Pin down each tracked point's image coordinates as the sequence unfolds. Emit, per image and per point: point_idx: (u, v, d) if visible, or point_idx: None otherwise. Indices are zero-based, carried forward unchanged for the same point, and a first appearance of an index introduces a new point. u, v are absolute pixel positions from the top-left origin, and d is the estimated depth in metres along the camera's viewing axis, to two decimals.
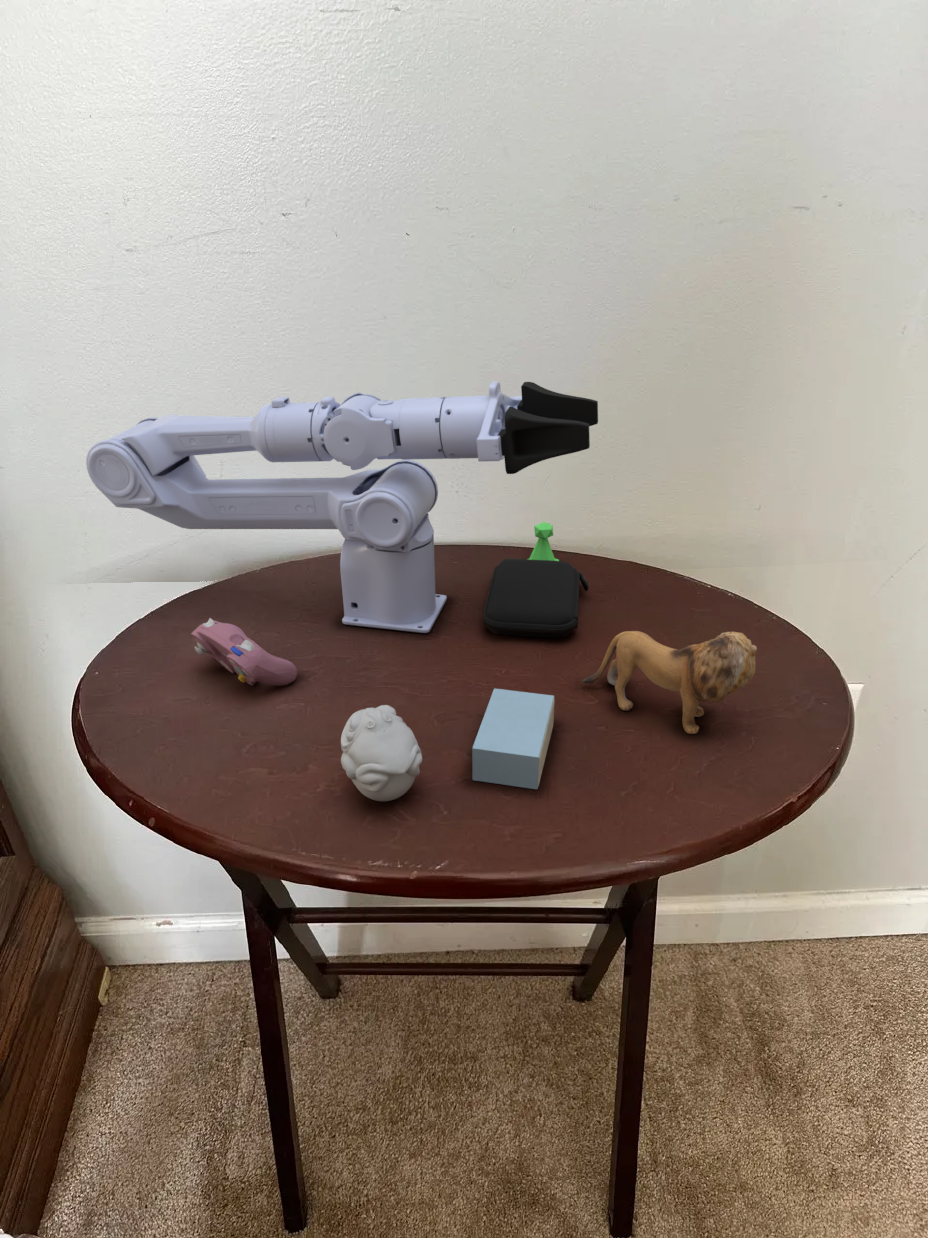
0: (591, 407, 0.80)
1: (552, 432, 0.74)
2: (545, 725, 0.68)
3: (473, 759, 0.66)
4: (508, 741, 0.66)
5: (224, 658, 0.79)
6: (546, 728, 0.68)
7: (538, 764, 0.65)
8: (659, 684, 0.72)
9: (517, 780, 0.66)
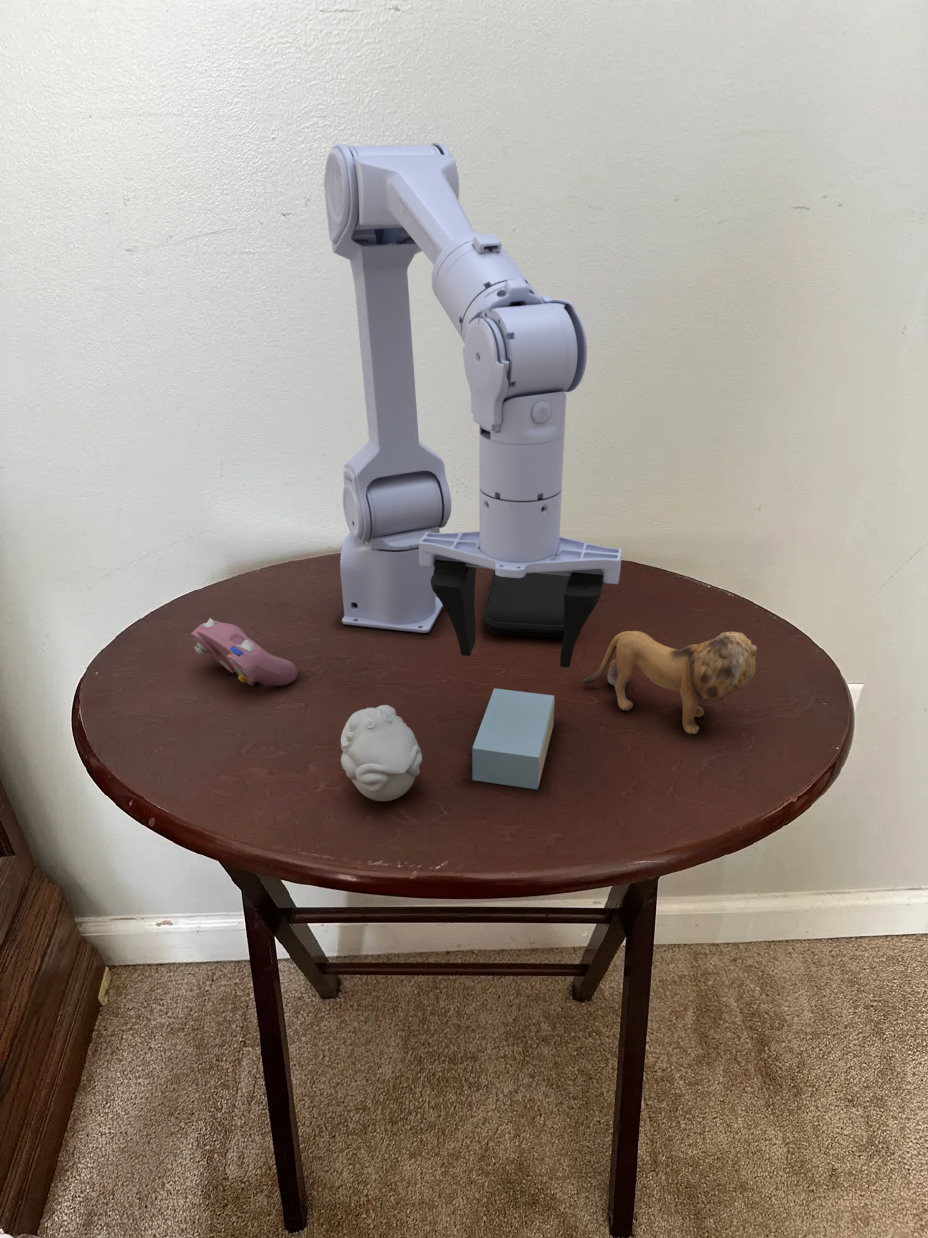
0: None
1: None
2: (545, 725, 0.68)
3: (473, 759, 0.66)
4: (508, 741, 0.66)
5: (224, 658, 0.79)
6: (546, 728, 0.68)
7: (538, 764, 0.65)
8: (659, 684, 0.72)
9: (517, 780, 0.66)
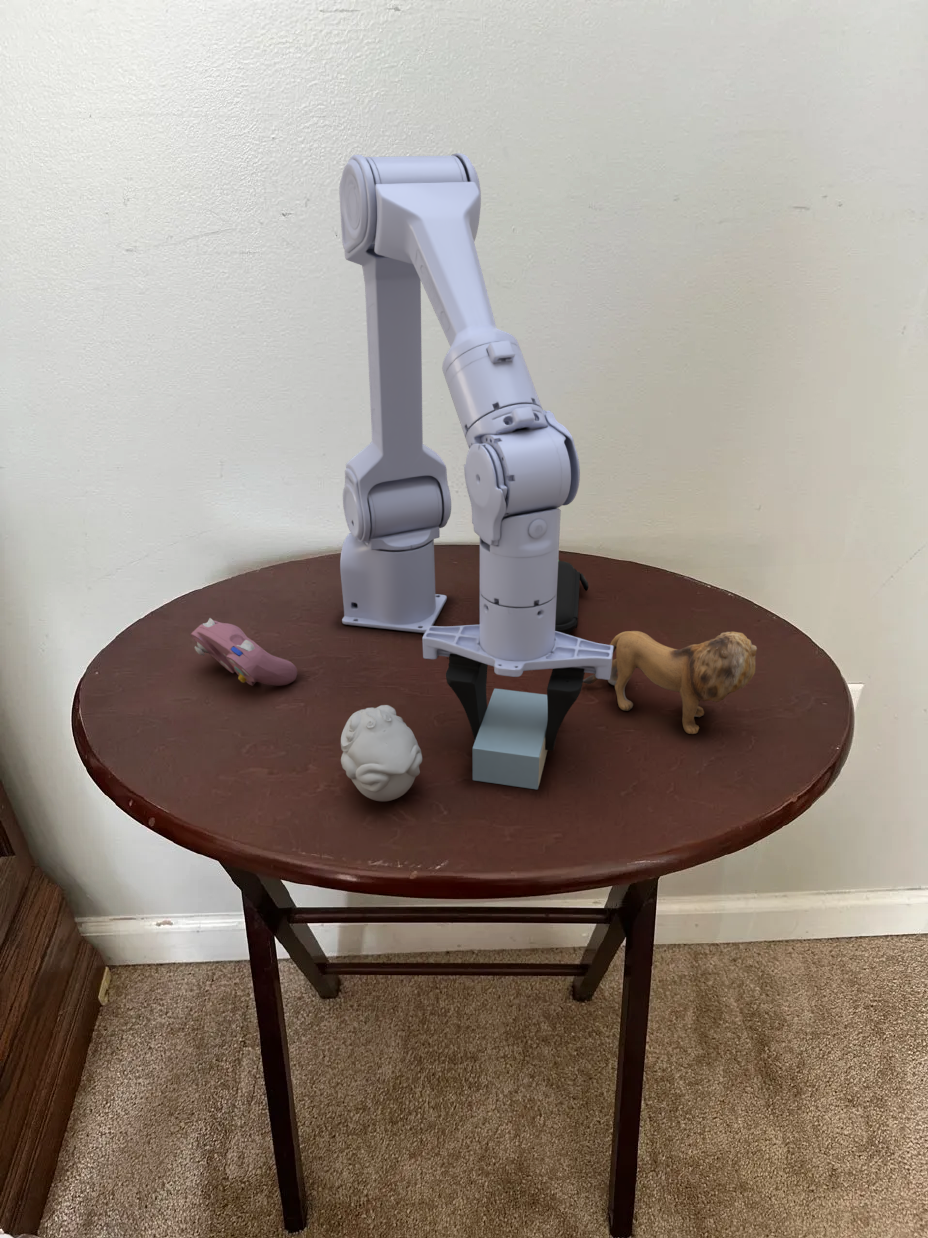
0: None
1: None
2: (545, 725, 0.68)
3: (473, 759, 0.66)
4: (508, 741, 0.66)
5: (224, 658, 0.79)
6: (546, 728, 0.68)
7: (538, 764, 0.65)
8: (659, 684, 0.72)
9: (517, 780, 0.66)
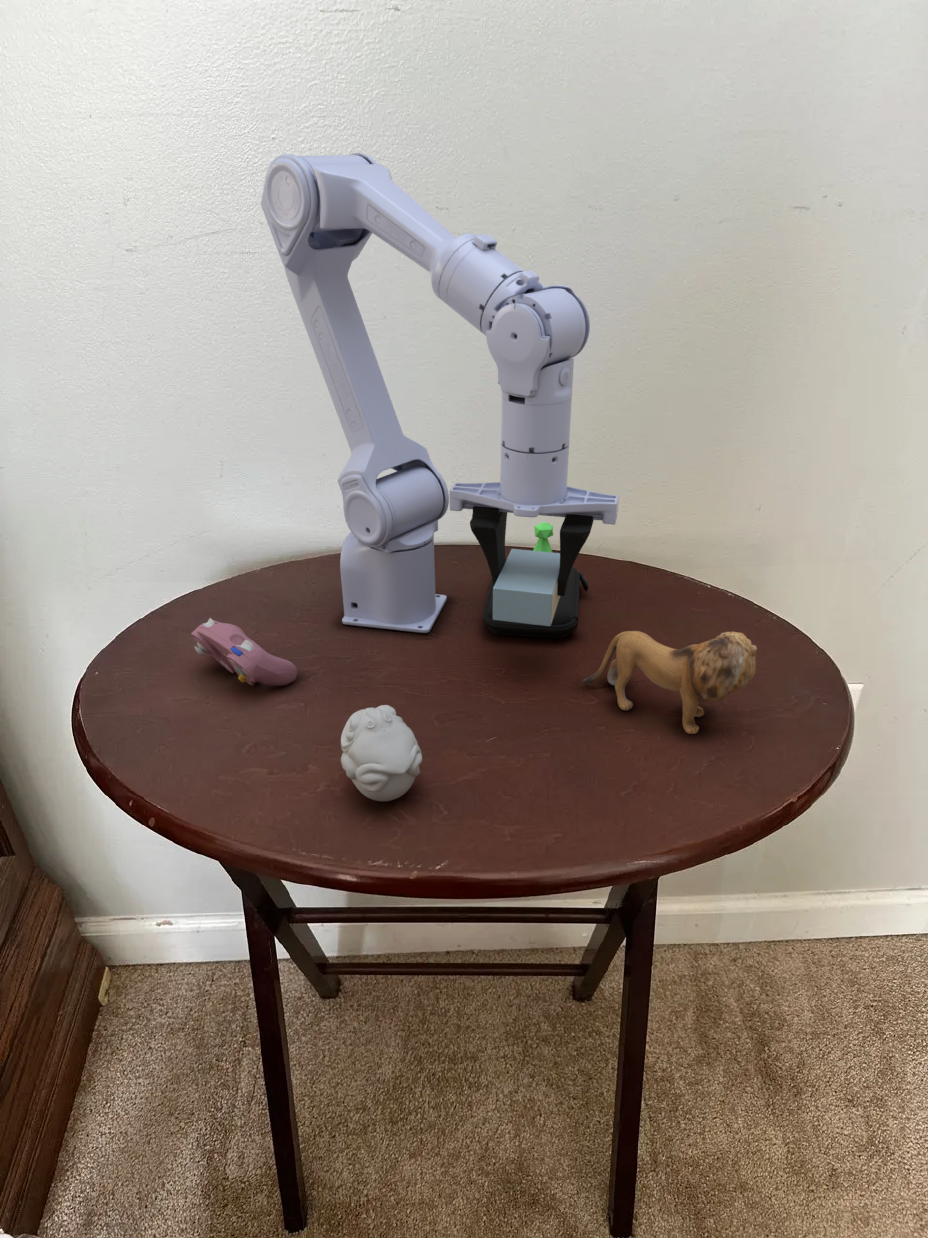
0: None
1: None
2: (557, 573, 0.76)
3: (493, 599, 0.74)
4: (525, 583, 0.75)
5: (224, 658, 0.79)
6: None
7: (551, 601, 0.73)
8: (659, 684, 0.72)
9: (532, 618, 0.74)
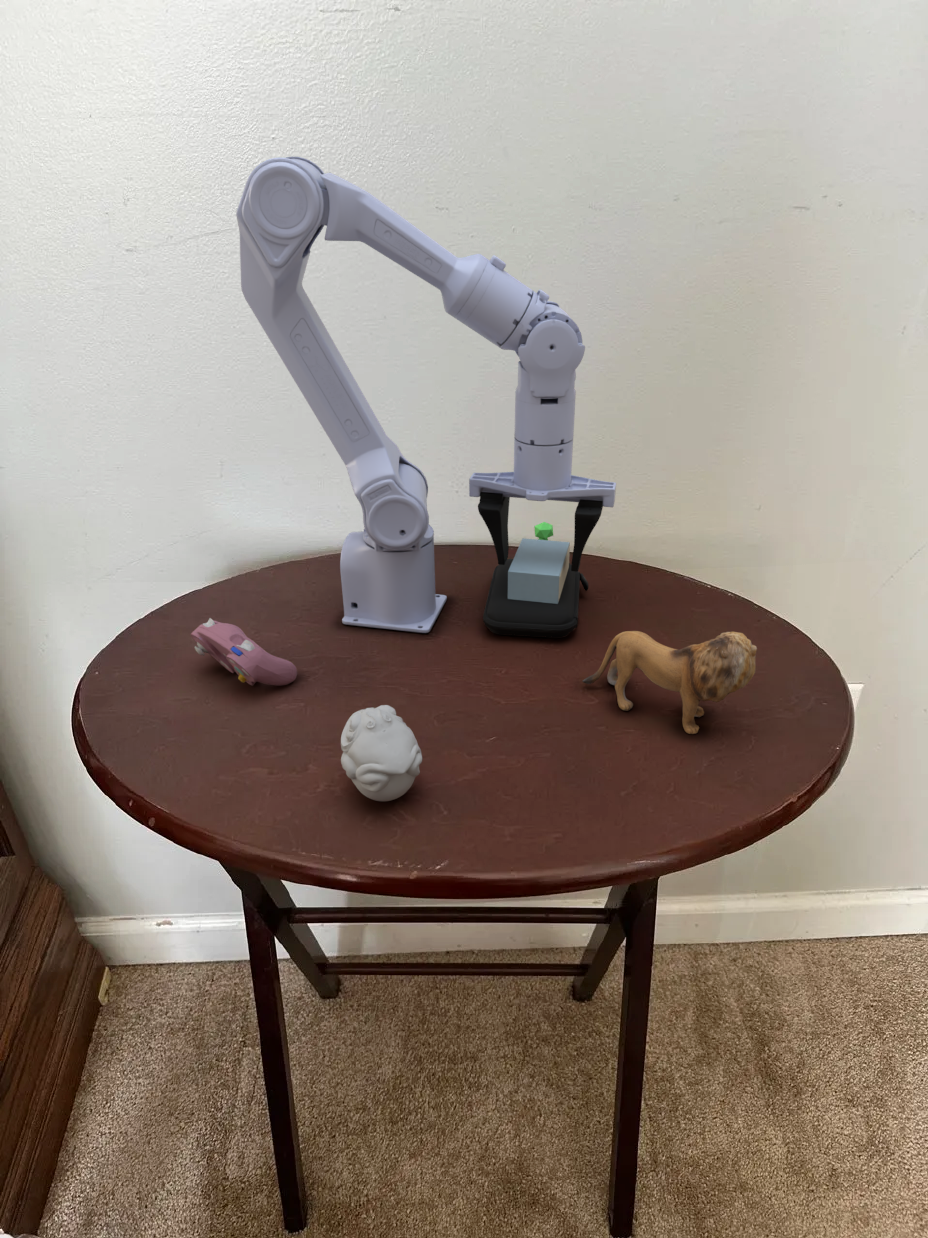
0: None
1: None
2: (563, 558, 0.88)
3: (508, 580, 0.86)
4: (535, 567, 0.86)
5: (224, 658, 0.79)
6: (564, 560, 0.88)
7: (558, 582, 0.85)
8: (659, 684, 0.72)
9: (542, 597, 0.86)
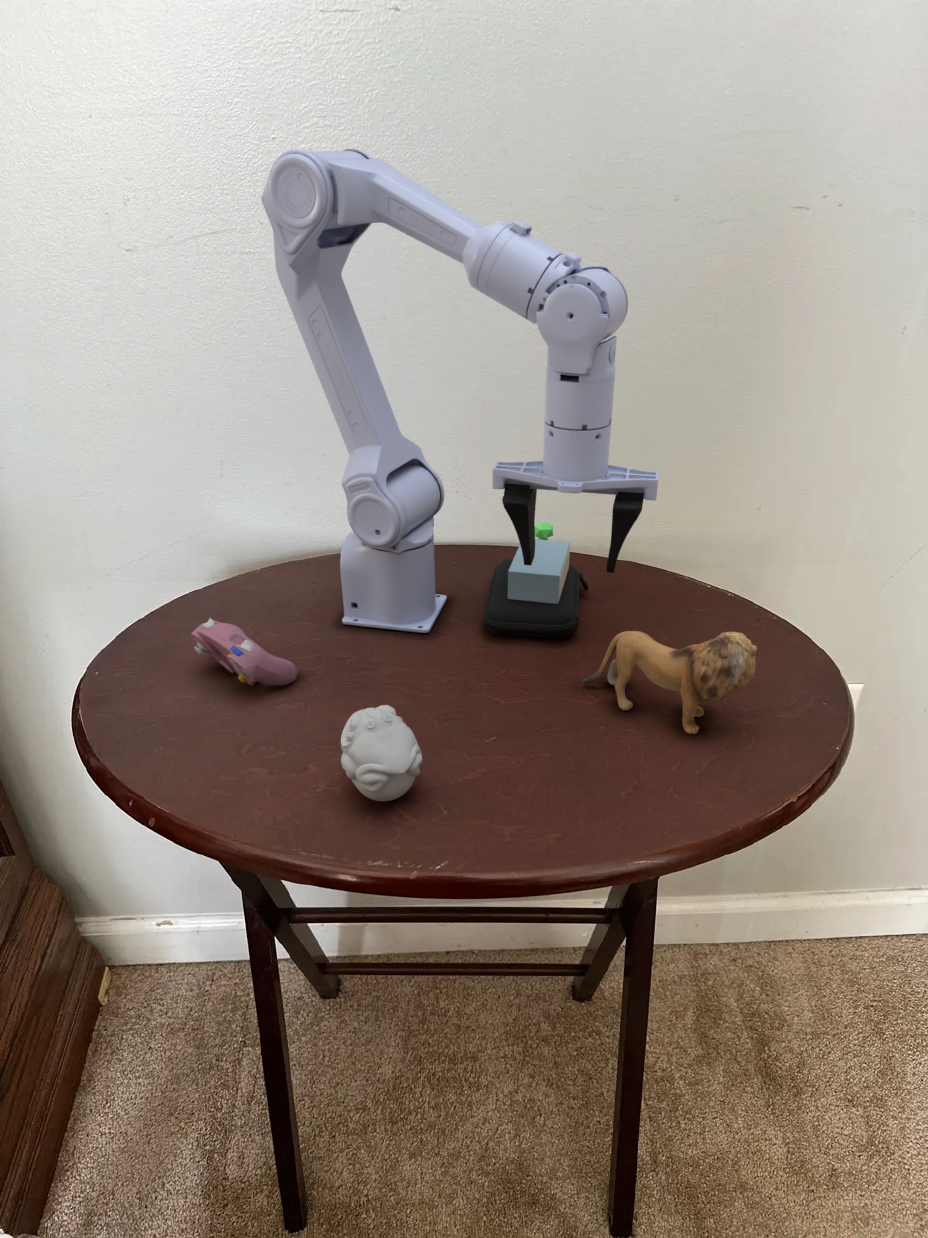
0: None
1: None
2: (563, 558, 0.88)
3: (508, 580, 0.86)
4: (535, 567, 0.86)
5: (224, 658, 0.79)
6: (564, 560, 0.88)
7: (559, 582, 0.85)
8: (659, 684, 0.72)
9: (542, 596, 0.86)
